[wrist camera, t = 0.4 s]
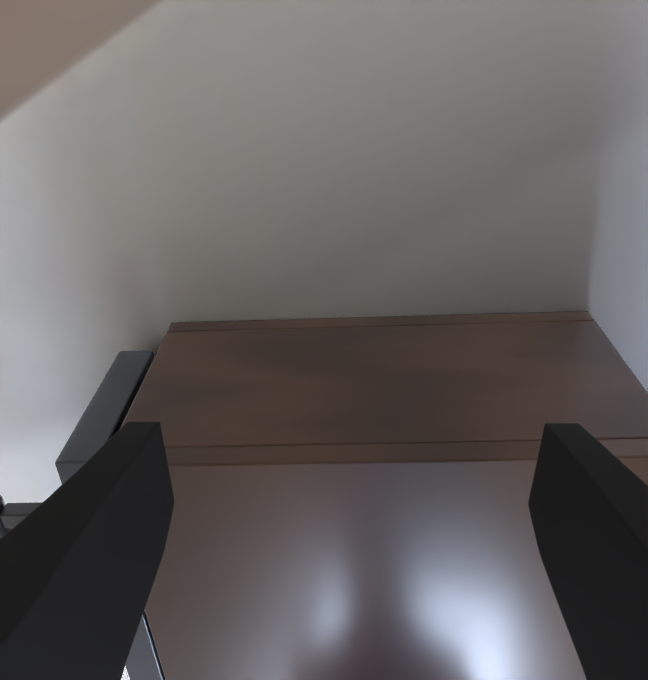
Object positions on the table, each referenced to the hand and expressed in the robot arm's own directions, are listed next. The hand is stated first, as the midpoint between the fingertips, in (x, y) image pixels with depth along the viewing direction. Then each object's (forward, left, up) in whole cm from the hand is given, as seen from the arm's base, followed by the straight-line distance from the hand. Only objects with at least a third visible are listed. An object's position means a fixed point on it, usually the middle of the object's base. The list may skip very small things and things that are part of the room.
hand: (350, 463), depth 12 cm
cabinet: (-9, -1, -10) cm, 14 cm away
